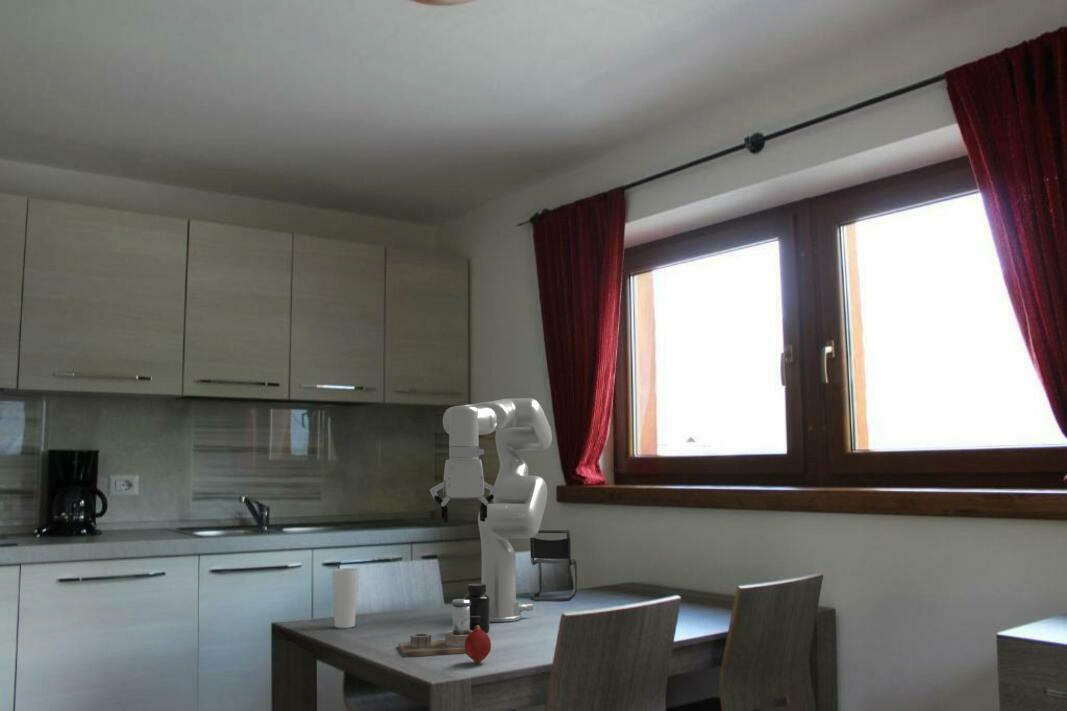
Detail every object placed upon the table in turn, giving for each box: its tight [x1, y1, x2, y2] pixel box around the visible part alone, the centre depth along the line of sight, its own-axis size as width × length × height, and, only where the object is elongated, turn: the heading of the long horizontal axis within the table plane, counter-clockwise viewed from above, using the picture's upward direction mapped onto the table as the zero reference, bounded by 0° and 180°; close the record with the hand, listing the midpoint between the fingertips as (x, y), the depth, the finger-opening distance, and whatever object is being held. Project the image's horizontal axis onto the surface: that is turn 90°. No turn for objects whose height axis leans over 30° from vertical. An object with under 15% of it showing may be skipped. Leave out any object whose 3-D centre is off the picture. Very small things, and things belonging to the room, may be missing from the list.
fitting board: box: [397, 630, 472, 658], centre depth 217 cm, size 19×12×4 cm, turn 105°
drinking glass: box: [332, 567, 359, 629], centre depth 248 cm, size 7×7×15 cm
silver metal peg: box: [451, 598, 471, 635], centre depth 219 cm, size 4×4×10 cm
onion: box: [464, 626, 492, 664], centre depth 202 cm, size 6×6×8 cm
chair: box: [529, 529, 578, 602], centre depth 299 cm, size 13×17×22 cm
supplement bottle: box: [463, 583, 491, 634], centre depth 239 cm, size 7×7×12 cm
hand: (463, 521), depth 237 cm, fingers open, 9 cm apart
